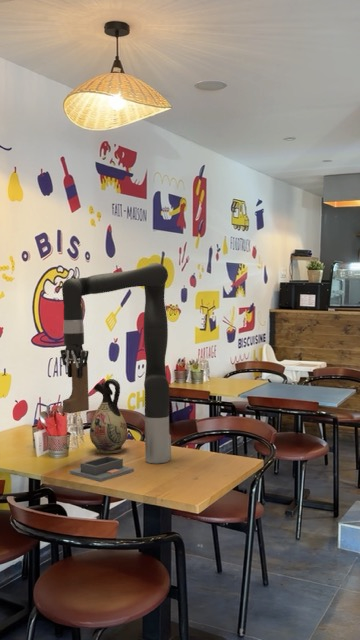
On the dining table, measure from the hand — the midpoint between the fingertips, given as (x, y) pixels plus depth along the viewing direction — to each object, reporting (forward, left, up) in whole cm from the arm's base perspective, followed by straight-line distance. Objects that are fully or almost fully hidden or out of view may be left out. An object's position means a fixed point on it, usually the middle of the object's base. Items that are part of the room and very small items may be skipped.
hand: (75, 377), depth 232 cm
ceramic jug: (-21, -4, -33) cm, 40 cm away
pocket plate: (+2, +16, -33) cm, 37 cm away
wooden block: (0, 0, -13) cm, 13 cm away
